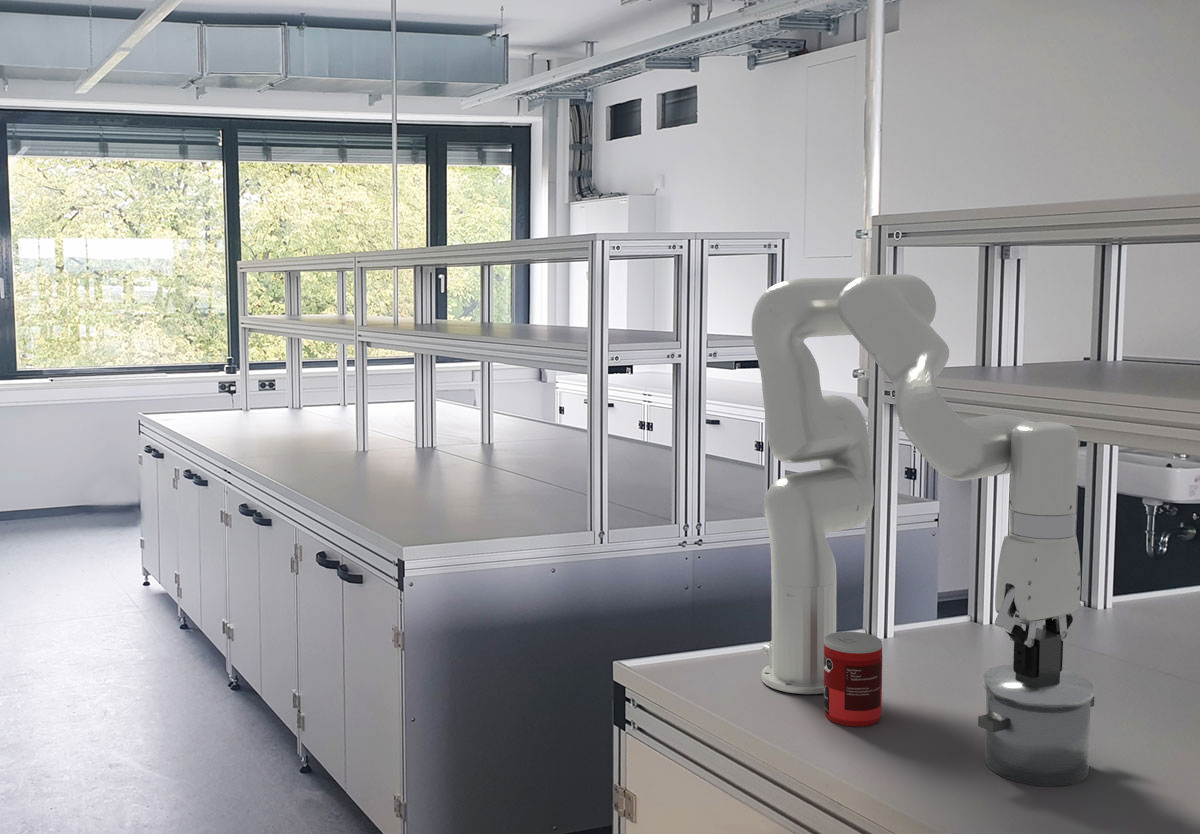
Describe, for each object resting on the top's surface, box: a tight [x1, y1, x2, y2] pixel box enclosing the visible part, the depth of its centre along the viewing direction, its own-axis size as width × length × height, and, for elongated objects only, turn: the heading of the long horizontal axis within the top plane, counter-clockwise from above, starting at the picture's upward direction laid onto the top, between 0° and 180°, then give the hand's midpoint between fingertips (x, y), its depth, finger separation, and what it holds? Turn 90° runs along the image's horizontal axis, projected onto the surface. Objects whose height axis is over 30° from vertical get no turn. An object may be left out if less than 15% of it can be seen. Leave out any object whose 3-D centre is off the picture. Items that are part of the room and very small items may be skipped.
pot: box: [977, 690, 1095, 788], centre depth 146 cm, size 12×17×9 cm
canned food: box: [823, 631, 883, 728], centre depth 163 cm, size 8×8×11 cm
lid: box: [982, 627, 1094, 708], centre depth 145 cm, size 13×13×7 cm
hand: (1037, 670), depth 145 cm, fingers closed on lid, 3 cm apart
